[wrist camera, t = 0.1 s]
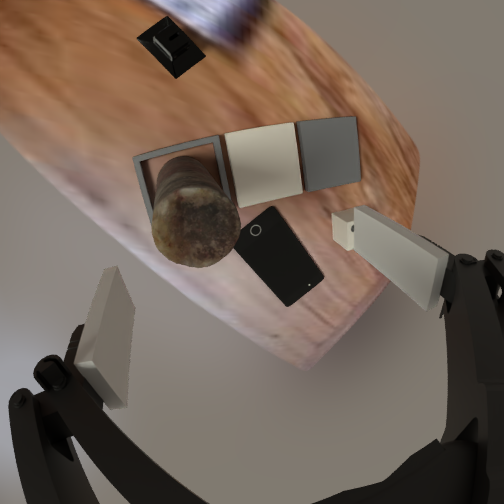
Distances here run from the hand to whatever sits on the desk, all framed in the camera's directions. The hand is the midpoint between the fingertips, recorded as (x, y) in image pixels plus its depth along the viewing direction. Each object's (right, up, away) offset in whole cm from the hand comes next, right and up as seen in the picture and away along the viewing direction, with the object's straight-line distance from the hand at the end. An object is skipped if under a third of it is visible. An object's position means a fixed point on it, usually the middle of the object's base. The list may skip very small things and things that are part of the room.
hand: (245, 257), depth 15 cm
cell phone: (+5, -1, +35) cm, 35 cm away
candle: (-9, +10, +25) cm, 28 cm away
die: (+17, +5, +34) cm, 39 cm away
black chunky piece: (-11, +28, +16) cm, 35 cm away
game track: (+1, +13, +26) cm, 29 cm away
